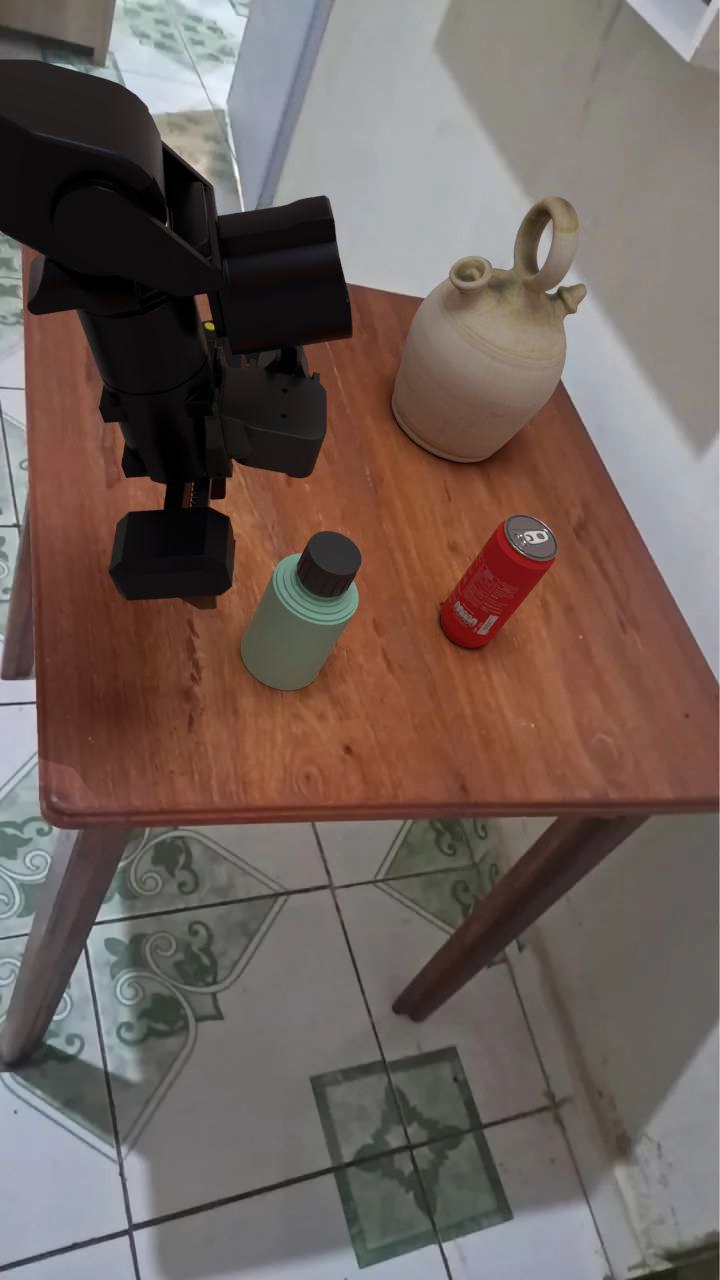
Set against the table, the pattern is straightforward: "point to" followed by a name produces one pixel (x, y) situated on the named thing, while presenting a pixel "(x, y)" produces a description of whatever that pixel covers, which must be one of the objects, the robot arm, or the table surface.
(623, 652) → the table surface
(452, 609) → the beverage can
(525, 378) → the jug
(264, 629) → the bottle
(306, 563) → the cap
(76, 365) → the table surface
